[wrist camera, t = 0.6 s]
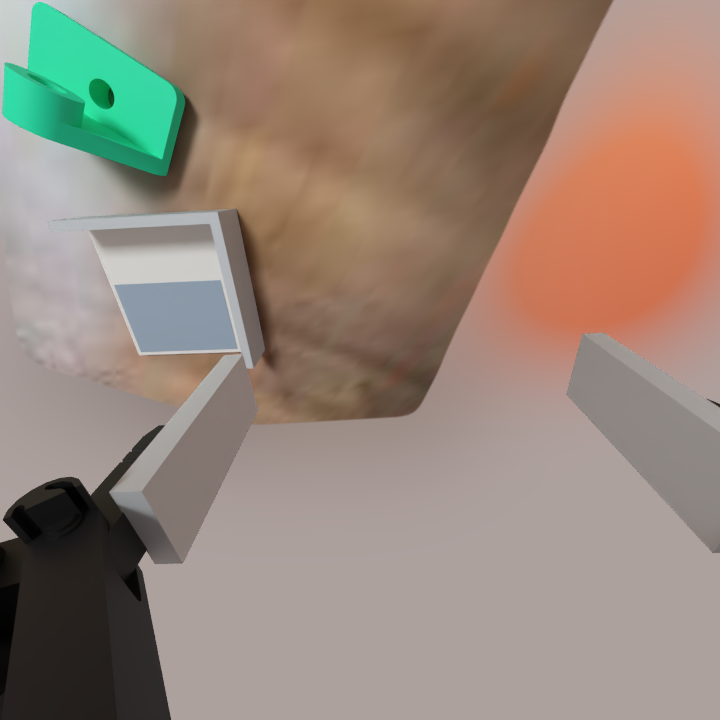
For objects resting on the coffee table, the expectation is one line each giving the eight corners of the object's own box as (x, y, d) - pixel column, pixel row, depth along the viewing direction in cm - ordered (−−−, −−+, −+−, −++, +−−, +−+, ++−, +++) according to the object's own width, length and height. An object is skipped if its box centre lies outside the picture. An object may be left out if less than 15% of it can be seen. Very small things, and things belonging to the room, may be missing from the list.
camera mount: (193, 96, 31) (121, 59, 22) (172, 176, 34) (101, 172, 25) (60, 10, 29) (-84, -71, 20) (50, 105, 32) (-78, 72, 23)
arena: (85, 216, 36) (46, 221, 32) (236, 208, 36) (217, 211, 31) (141, 353, 44) (115, 372, 40) (265, 349, 43) (253, 368, 39)
